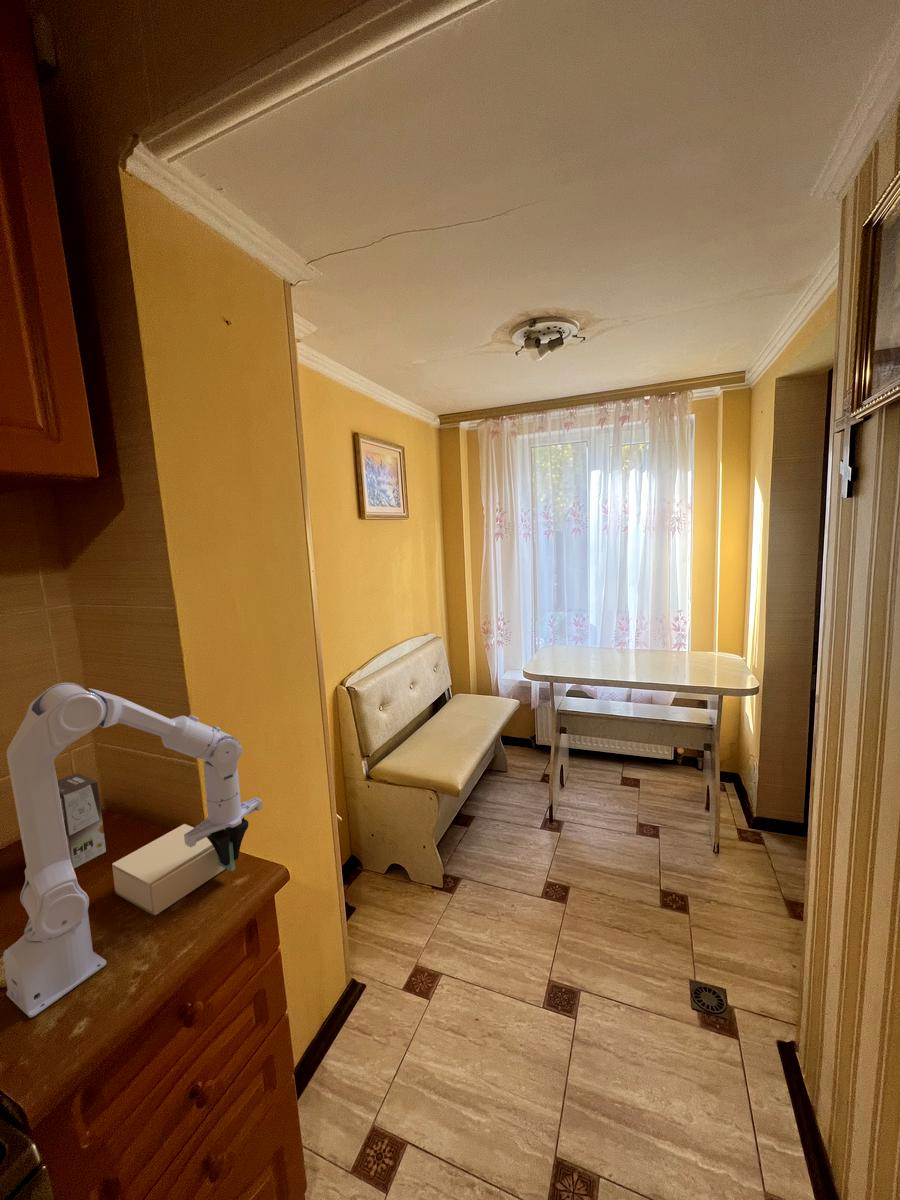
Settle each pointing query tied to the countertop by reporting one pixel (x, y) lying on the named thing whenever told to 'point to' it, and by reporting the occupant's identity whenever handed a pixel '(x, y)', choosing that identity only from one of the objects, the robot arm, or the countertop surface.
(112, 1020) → the countertop surface
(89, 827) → the coffee box
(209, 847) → the carton
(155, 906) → the flap
